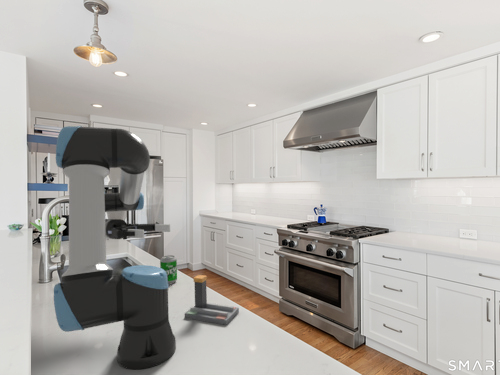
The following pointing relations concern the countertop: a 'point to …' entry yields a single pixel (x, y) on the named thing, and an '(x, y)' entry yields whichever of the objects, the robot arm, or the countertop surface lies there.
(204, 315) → the grey base
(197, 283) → the breaker handle
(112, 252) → the countertop surface
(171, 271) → the soda can
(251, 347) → the countertop surface
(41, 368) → the countertop surface
